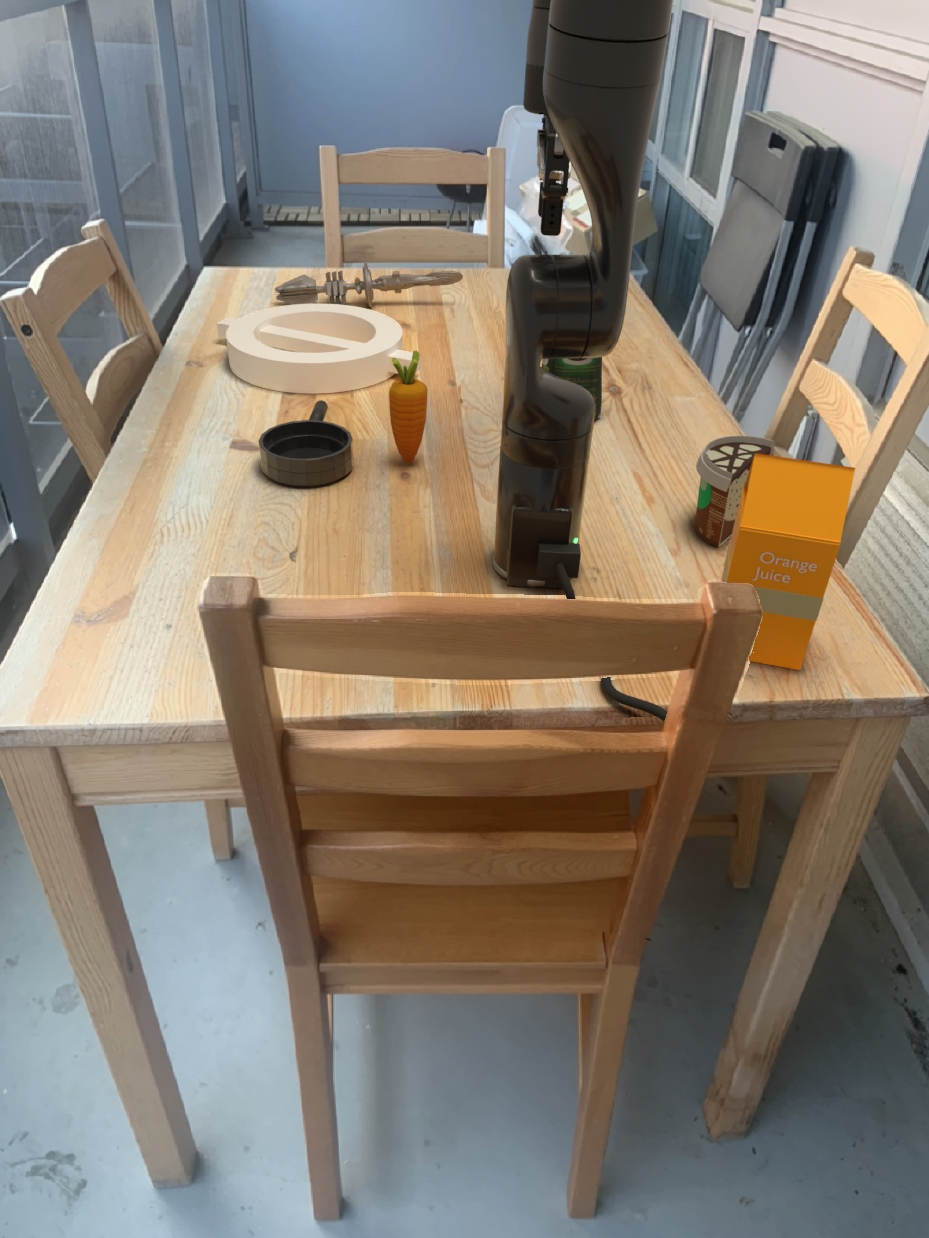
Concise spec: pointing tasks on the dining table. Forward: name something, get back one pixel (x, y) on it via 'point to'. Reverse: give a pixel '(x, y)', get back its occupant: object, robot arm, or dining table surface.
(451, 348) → the dining table surface
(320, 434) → the pan
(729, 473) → the food container
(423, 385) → the carrot
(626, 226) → the robot arm
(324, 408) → the pan handle
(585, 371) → the coffee jar
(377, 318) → the white circle with bar
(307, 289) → the spaceship
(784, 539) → the orange juice
